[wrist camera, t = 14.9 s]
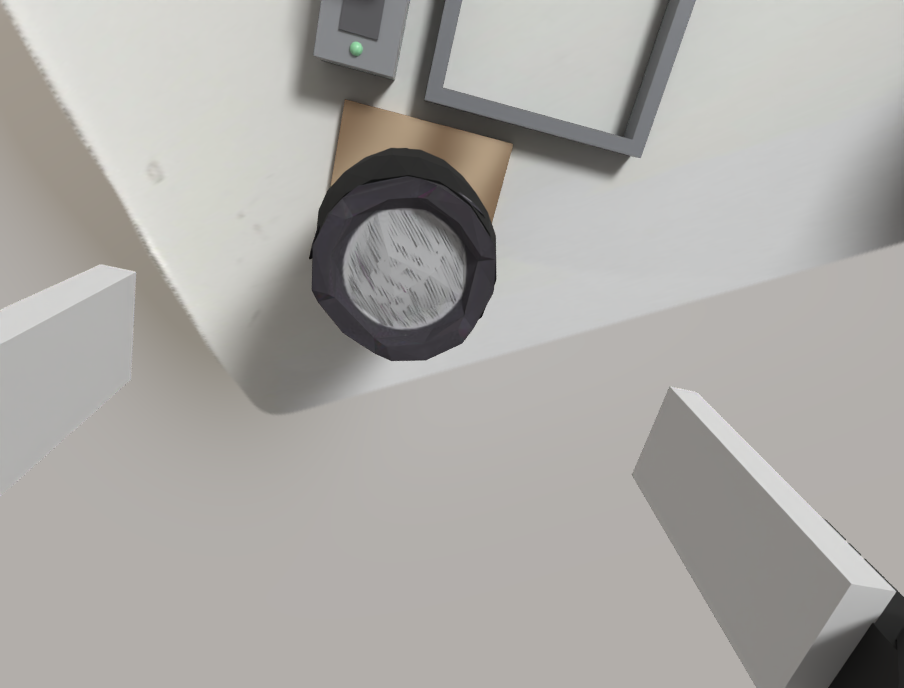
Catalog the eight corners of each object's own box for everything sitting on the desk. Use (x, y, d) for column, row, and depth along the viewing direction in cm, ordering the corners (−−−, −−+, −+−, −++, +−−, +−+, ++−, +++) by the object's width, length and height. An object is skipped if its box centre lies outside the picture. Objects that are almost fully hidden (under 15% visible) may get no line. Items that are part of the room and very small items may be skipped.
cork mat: (511, 143, 41) (513, 143, 40) (470, 299, 45) (470, 301, 44) (345, 99, 39) (344, 99, 38) (318, 265, 43) (317, 267, 43)
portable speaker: (453, 279, 44) (476, 395, 25) (333, 242, 42) (267, 337, 24) (491, 169, 41) (547, 211, 22) (364, 125, 39) (314, 132, 21)
